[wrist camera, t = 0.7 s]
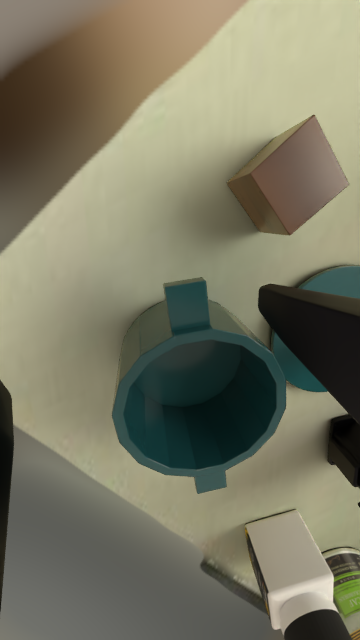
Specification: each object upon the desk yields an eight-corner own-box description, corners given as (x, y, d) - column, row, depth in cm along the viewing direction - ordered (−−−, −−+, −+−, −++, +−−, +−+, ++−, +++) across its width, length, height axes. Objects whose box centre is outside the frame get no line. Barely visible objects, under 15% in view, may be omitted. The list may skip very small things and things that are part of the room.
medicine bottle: (243, 523, 34) (294, 672, 23) (297, 507, 34) (373, 646, 23) (249, 556, 36) (297, 705, 25) (299, 542, 37) (368, 681, 26)
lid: (400, 253, 24) (491, 265, 18) (381, 373, 28) (447, 415, 22) (266, 276, 23) (313, 297, 17) (268, 396, 27) (305, 447, 21)
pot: (241, 253, 22) (288, 269, 15) (249, 417, 28) (285, 482, 21) (99, 276, 21) (80, 304, 14) (140, 441, 27) (140, 516, 20)
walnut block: (276, 136, 19) (314, 113, 15) (306, 191, 21) (350, 184, 17) (226, 182, 20) (250, 173, 16) (260, 232, 22) (290, 235, 17)
